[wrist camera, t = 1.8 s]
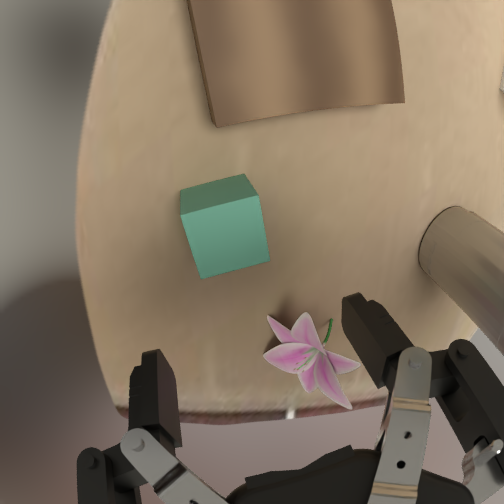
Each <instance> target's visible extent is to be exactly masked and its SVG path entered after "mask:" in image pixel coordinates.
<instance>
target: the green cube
mask: <svg viewBox="0 0 504 504" xmlns="http://www.w3.org/2000/svg"><path fill="white" fill-rule="evenodd" d="M180 216H181V219H182V223H183V226H184V229H185V232H186V235H187V239H188V242H189V245H190V248H191V251H192V254H193V257H194V260H195V263H196V266H197V269H198V272H199V275H200V278H201V279H204V278H208V277H212V276H215V275H219V274H223V273H227V272H230V271H234V270H238V269H242V268H245V267H249V266H253V265H257V264H260V263H264V262H268V261H270V257H269V251H268V245H267V239H266V234H265V228H264V223H263V217H262V211H261V206H260V200H259V195H258V194H257V192H256V191H255V189H254V188H253V186H252V185H251V183H250V182H249V180H248V179H247V177H246V176H245V174H241V175H237V176H233V177H229V178H225V179H221V180H217V181H213V182H209V183H205V184H201V185H197V186H194V187H190V188H186V189H183V190H181V192H180Z"/></svg>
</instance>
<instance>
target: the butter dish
mask: <svg viewBox="0 0 504 504" xmlns="http://www.w3.org/2000/svg"><path fill="white" fill-rule="evenodd" d="M500 90H501V91H502V92H503V93H504V68H503V74H502V79H501V84H500Z"/></svg>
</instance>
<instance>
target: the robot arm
mask: <svg viewBox="0 0 504 504" xmlns="http://www.w3.org/2000/svg"><path fill="white" fill-rule="evenodd" d="M419 261H420V265H421V267H422V269H423V270H424V271H425V272H426V273H427V274H428V275H429V276H430V277H431V278H432V279H433V280H434V281H435V282H436V283H437V284H438V285H439V286H440V287H441V288H442V289H443V290H444V291H445V292H446V293H447V294H448V295H449V296H450V297H451V298H452V299H453V300H454V301H455V303H456V304H457V305H458V306H459V307H460V308H461V309H462V310H463V311H464V312H465V313H466V314H467V315H468V316H469V317H470V318H471V320H472V321H473V322H474V323H475V324H476V325H477V326H478V327H479V328H480V329H481V331H483V333H484V334H485V335H486V336H487V337H488V338H489V340H490V341H491V342H492V343H493V344H494V345H495V347H496V348H497V349H498V350H499V351H500V352H501V353H502V355H503V356H504V233H503V232H502V231H500V230H499V229H497V228H496V227H495V226H493V225H492V224H490V223H489V222H487V221H486V220H484V219H483V218H481V217H480V216H478V215H477V214H475V213H474V212H468V211H467V210H465V209H464V208H461V207H451V208H449V209H447V210H445V211H443V212H442V213H441V214H440V215H439V216H438V217H437V218H436V219H435V220H434V221H433V222H432V224H431V225H430V226H429V228H428V230H427V232H426V233H425V235H424V238H423V240H422V243H421V247H420V251H419ZM342 327H343V330H344V333H345V335H346V336H347V338H348V340H349V341H350V343H351V345H352V346H353V348H354V350H355V351H356V353H357V355H358V356H359V358H360V360H361V361H362V363H363V365H364V366H365V368H366V370H367V371H368V373H369V375H370V376H371V378H372V380H373V381H374V383H375V385H376V386H377V388H378V389H379V388H381V387H383V386H385V385H386V387H387V389H388V390H389V391H388V395H387V400H386V405H385V409H384V414H383V419H382V422H381V427H380V430H379V433H378V437H377V439H376V443H375V446H374V450H371V449H354V450H353V449H352V447H351V445H348V446H346V447H343V448H341V449H338V450H336V451H333V452H330V453H328V454H325V455H324V456H322V457H321V458H319V459H317V460H316V461H314V462H312V463H311V464H309V465H308V466H306V467H304V468H302V469H299V470H289V471H288V470H286V471H270V472H267V473H263V474H259V475H255V476H250V477H246V478H245V481H246V483H245V484H243V485H241V486H239V487H238V488H236V489H235V490H234V491H233V492H231V493H230V494H229V495H228V496H227V498H225V497H223V496H222V495H221V494H219V493H218V492H217V491H216V490H214V489H213V488H212V487H210V486H209V485H208V484H207V483H205V482H204V481H203V480H202V479H200V478H199V477H198V476H197V475H196V474H194V473H193V472H192V471H191V470H190V469H189V468H188V467H187V466H185V465H184V464H183V463H182V462H181V461H180V460H179V459H178V458H176V454H175V448H177V447H182V438H181V430H180V420H179V410H178V400H177V388H176V379H175V375H174V372H173V370H172V368H171V367H170V365H169V363H168V362H167V360H166V358H165V357H164V355H163V353H162V352H161V350H160V349H156V350H152V351H147V352H143V353H142V361H141V365H140V366H135V367H134V369H133V371H132V373H131V376H130V386H129V387H130V389H129V396H130V398H129V427H128V432H127V433H126V434H125V435H124V436H123V437H122V439H121V442H120V443H119V444H117V445H115V446H113V447H111V448H108V449H106V450H104V451H100V450H99V449H96V448H93V447H91V448H87V449H85V450H83V451H82V452H81V453H80V454H79V456H78V459H77V492H78V504H142V502H141V495H140V489H139V486H141V485H143V484H146V483H149V484H150V485H151V486H152V487H153V488H154V492H155V493H156V494H157V496H158V497H160V499H161V500H162V501H163V502H164V503H165V504H480V503H482V502H483V501H485V500H486V499H487V498H489V497H490V496H492V495H493V494H494V493H495V492H497V491H498V490H499V489H500V488H502V487H503V486H504V386H503V385H502V383H501V382H500V380H499V379H498V377H497V376H496V375H495V373H494V372H493V370H492V369H491V368H490V366H489V365H488V363H487V362H486V361H485V359H484V358H483V357H482V355H481V354H480V353H479V351H478V350H477V349H476V347H475V346H474V345H473V344H472V343H471V342H470V341H468V340H464V339H458V340H455V341H453V342H452V343H451V344H450V346H449V348H448V349H446V350H441V351H435V352H427V351H426V350H425V349H423V348H420V347H415V346H414V345H413V344H412V343H411V341H410V340H409V339H408V337H407V336H406V335H405V334H404V332H403V331H402V330H401V328H400V327H399V326H398V324H397V323H396V322H394V319H393V318H392V317H391V316H390V315H389V313H388V312H387V310H386V309H385V308H384V307H383V305H381V304H379V303H378V302H376V301H374V300H370V301H368V302H367V301H366V299H365V298H364V297H363V295H362V294H361V293H359V292H358V293H355V294H352V295H349V296H346V297H343V299H342ZM432 397H435V398H436V400H437V402H438V403H439V405H440V407H441V409H442V410H443V412H444V414H445V416H446V418H447V419H448V421H449V423H450V425H451V427H452V429H453V430H454V432H455V434H456V436H457V438H458V440H459V441H460V443H461V445H462V447H463V449H464V451H465V453H466V454H465V456H464V458H463V460H462V469H463V473H464V479H463V482H462V483H460V482H457V481H454V480H451V479H448V478H445V477H442V476H440V475H437V474H434V473H431V472H429V471H426V470H423V469H422V465H423V460H424V455H425V449H426V444H427V438H428V431H429V424H430V417H431V405H429V398H432Z"/></svg>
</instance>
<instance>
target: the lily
mask: <svg viewBox="0 0 504 504" xmlns="http://www.w3.org/2000/svg"><path fill="white" fill-rule="evenodd" d="M267 319H268V322H269V324H270V326H271V328H272V330H273V331H274V333H275V335H276V336H277V338H278V339H279V340H280V342H281V343H282V344H281V345H278V346H276V347H274V348H272V349H271V350H269V351H267V352H266V353H264V358H265V360H267V361H268V362H269V363H270V364H272V365H274V366H275V367H277V368H279V369H281V370H283V371H285V372H288V373H294V374H298V377H299V380H300V382H301V384H302V386H303V388H304V389H305V391H306V392H308V393H311V392H313V391H314V390H315V389H317V387H318V388H319V389H320V391H321V392H322V393H323V394H324V395H326V396H327V397H328V398H330V399H331V400H333V401H334V402H336V403H338V404H340V405H341V406H343V407H346V408H348V409H352V406H351V404H350V402H349V400H348V399H347V397H346V395H345V394H344V392H343V390H342V388H341V386H340V384H339V381H338V379H337V376H336V374H339V375H340V374H345V373H348V372H351V371H353V370H355V369H357V368H359V367H360V366H361V364H360V363H359V362H357V361H354V360H352V359H349V358H346V357H344V356H341V355H338V354H336V353H333V352H330V351H328V350H326V349H324V347H325V344H326V342H327V340H328V337H329V335H330V331H331V327H332V321H333V319H332V318H331V319H330V323H329V328H328V332H327V335H326V338H325V340H324V342H323V343H322V344H321V342H320V340H319V337H318V334H317V332H316V329H315V326H314V323H313V321H312V319H311V316H310V315H309V314H308V313H307V312H305V313H303V314H302V315H301V316H300V317H299V318H298V319H297V321H296V322H295V324H294V326H293V327H292V329H291V331H290V330H289V329H287V328H286V327H285V326H283V325H282V324H280V323H279V322H277V321H276V320H274V319H273V318H271V317H270V316H269V315H267Z"/></svg>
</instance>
